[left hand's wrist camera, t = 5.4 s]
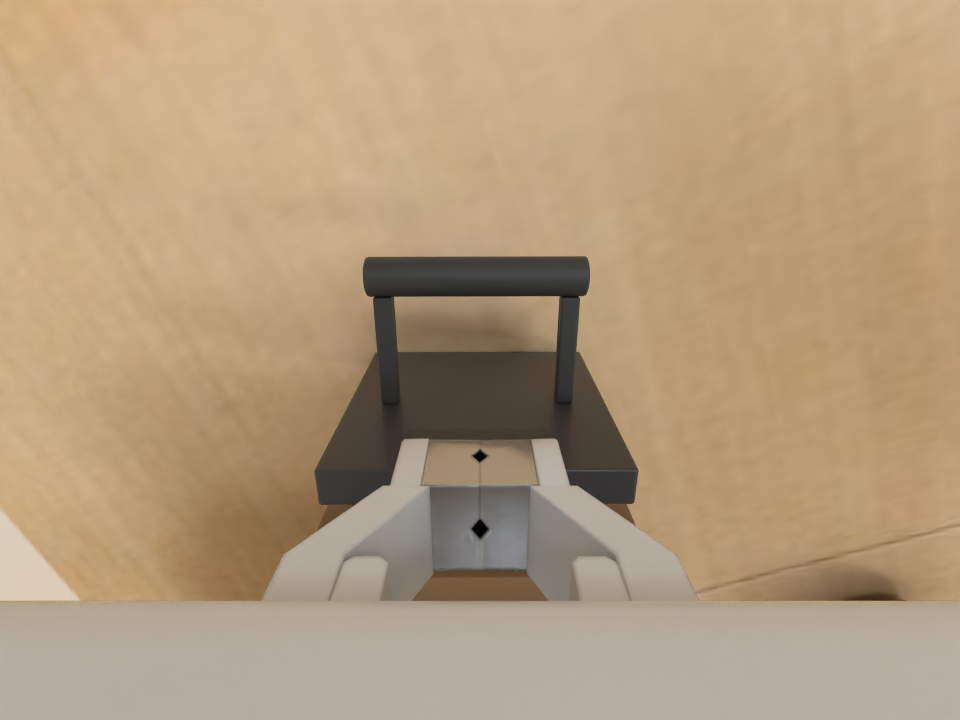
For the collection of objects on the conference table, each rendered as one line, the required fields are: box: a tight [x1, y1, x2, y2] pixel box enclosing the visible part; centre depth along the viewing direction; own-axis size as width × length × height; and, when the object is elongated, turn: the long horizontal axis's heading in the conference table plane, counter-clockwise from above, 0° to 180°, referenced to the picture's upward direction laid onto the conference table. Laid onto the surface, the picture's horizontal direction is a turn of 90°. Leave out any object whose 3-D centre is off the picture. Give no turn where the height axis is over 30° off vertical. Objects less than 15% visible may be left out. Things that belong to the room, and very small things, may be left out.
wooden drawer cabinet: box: [317, 504, 636, 601], centre depth 23 cm, size 16×10×11 cm, turn 0°
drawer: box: [315, 256, 638, 505], centre depth 21 cm, size 20×9×9 cm, turn 0°
